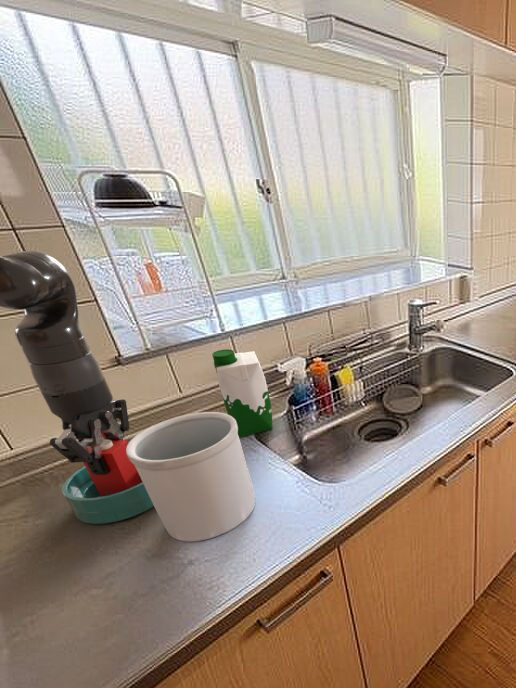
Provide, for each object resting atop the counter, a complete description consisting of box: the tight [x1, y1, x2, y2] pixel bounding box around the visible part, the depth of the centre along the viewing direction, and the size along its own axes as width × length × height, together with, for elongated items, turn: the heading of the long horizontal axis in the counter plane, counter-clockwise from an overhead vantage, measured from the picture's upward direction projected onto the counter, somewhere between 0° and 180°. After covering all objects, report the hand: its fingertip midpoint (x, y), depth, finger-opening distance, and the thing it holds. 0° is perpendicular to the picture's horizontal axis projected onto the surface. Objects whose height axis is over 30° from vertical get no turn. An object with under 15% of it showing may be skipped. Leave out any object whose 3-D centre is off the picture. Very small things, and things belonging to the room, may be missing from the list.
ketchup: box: [83, 439, 142, 497], centre depth 76 cm, size 5×4×12 cm
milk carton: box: [212, 348, 273, 438], centre depth 98 cm, size 9×9×20 cm
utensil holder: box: [126, 411, 256, 542], centre depth 73 cm, size 15×15×18 cm
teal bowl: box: [61, 465, 154, 525], centre depth 78 cm, size 14×14×6 cm
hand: (112, 464), depth 76 cm, fingers closed on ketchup, 4 cm apart
